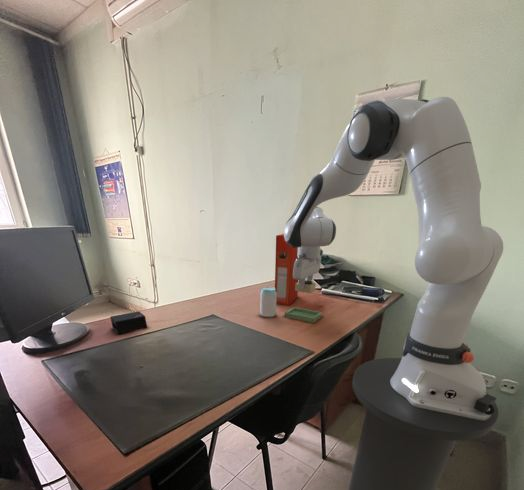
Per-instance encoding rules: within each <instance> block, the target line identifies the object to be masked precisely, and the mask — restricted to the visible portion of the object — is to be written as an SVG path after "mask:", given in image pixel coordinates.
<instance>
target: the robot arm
mask: <svg viewBox="0 0 524 490" xmlns="http://www.w3.org/2000/svg"><path fill="white" fill-rule="evenodd" d="M400 159H405V161H406V165H407V170H408V176H409V179H410V183H411V188H412V192H413V196H414V200H415V204H416V211H417V217H418V247H417V251H416V253H415V256H414V266H415V270H416V273H417V274H418V275H419V277H420V278H421V279H422V280H423V281H425V282H427V283H428V286H427V288H426V289H425V291H424V294H423V295H422V297H421V298H420V299H419V301H418V303H417V305H416V309H415V313H414V316H413V319H412V320H413V321H412V324H411V327H410V331H409V332H408V333H407V335H406V337H405V339H404V340H405V341H404V344H403V348H402V356H401V358H402V359H401V362H400V364H399V366H398V368H397V370H396V372H395V373H394V375H393V376H392V378H391V379H390V384H391V386H392V387H393V389H394V390H395V391H396V392H398V393H399V394H400V395H402V396H404V397H405V398H406V399H407V400H408V401H409V402H410V404H412V405H413V406H415V407H419V408H423V409H428V410H433V411H438V412H443V413H448V414H453V415H458V416H463V417H468V418H473V419H478V420H487V419H489V418H490V417H491V414H493V413H494V411H495V409H494V407H493V405H494V403H496V401H497V397H496V396H493V395H490V393H488V394H486V392H487V384H486V380H485V378H484V376H483V375H482V373H481V372H479V370H478V369H477V368H475V366H473V364H471V363H473V361H474V354H473V353H472V352H471V348H470V347H469V345H468V344H467V343H464V340H465V337H466V334H467V332H468V329H469V326H470V323H471V320H472V318H473V315H474V313H475V311H476V309H477V306H478V305H479V303H480V301H481V299H482V297H483V295H484V294H485V291H486V289H487V288H488V285H489V283H490V281H491V280H492V277H493V276H494V272H495V270H496V268H497V266H498V263H499V262H500V259H501V257H502V255H503V253H504V242H503V239H502V237H501V235H500V234H499V232H497V231H496V230H495V229H493V228H491V227H490V226H485V225H482V219H481V189H482V183H481V178H480V173H479V169H478V165H477V160H476V156H475V151H474V147H473V142H472V138H471V135H470V132H469V128H468V125H467V123H466V121H465V117H464V115H463V113H462V112H461V109H460V107H459V106H458V104H457V102H456V101H455V100H454V99H453V98H451V97H448V96H438V97H436V98H433V99H430V100H429V99H426V98H425V99H419V100H418V99H412V98H411V99H410V98H402V97H400V98H391V99H385V100H373V101H370V102H368V103H367V102H366V103H365V104H363V105H361V106H359V108H357V110H356V111H355V112H354V113H353V115H352V117H351V119H350V121H349V123H348V124H347V126H346V127H345V129H344V131H343V133H342V135H341V137H340V139H339V141H338V143H337V145H336V147H335V150H334V152H333V155H332V157H331V159H330V161H329V162H328V163H327V165H326V166H325V167H324V168H323V169H322V170H321V171H320V172H319V173H317V174H316V175H314V176H313V177H312V178H311V180H310V182H309V183H308V185H307V187H306V189H305V190H304V192H303V194H302V196H301V198H300V200H299V202H298V204H297V205H296V207H295V209H294V211H293V213H292V215H291V216H290V217H289V218H288V220H287V221H286V223H285V225H284V229H283V234H284V239H285V241H286V243H287V244H288V245H289V246H291V247H292V248H298V251H297V257H298V258H297V259H296V260H295V263H294V269H293V279H295V280H298V282H300V288H301V289H304V288H305V281H312V280H313V277H314V275H315V274H318V273H319V271H320V270H321V269H320V268H321V263H322V256H323V255H324V250H323V249H322V248H321V247H328V246H330V245H331V244H332V243H333V242H334V240H335V238H336V235H337V226H336V223H335V221H333V220H332V218H328V217H327V216H326V215H325V214H324V210H323V208H321V207H319V205H321V204H322V203H325V202H327V201H330V200H333V199H337V198H342V197H346V196H348V195H351V194H353V193H354V192H356V191H357V190H358V189H359V188H360V187H361V186H362V185H363V183H364V182H365V180H366V179H367V177H368V175H369V173H370V171H371V169H372V167H373V166H374V163H375V161H386V160H387V161H394V160H400ZM312 282H313V281H312Z"/></svg>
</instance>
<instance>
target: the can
mask: <svg viewBox="0 0 524 490" xmlns="http://www.w3.org/2000/svg"><path fill="white" fill-rule="evenodd" d="M259 297H260V298H259V306H260V307H259V309H260V310H259V315H260V316H261V317H263V318H273V317H275V316H276V315H277V304H276V299H277V292H276V291H275V287H271V286H265V287H262V288H261V290H260V294H259Z"/></svg>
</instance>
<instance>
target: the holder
mask: <svg viewBox="0 0 524 490" xmlns="http://www.w3.org/2000/svg"><path fill="white" fill-rule="evenodd" d="M322 316H323V312H322V311H317V310H312V309H307V308H303V307H295V306H293V307H292V308H290V309H289V310H287V311H285V312H284V318H288V319H293V320H297V321H301V322H302V321H303V322H307V323H311V324H314V323H316V322H317V321H318V320H319V319H321V318H322Z"/></svg>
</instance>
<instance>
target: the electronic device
mask: <svg viewBox="0 0 524 490" xmlns="http://www.w3.org/2000/svg"><path fill="white" fill-rule="evenodd" d="M110 322H111V326H112V329H113V330H114V331H115V333H116V334H117V335H120V334H121V335H122V334H125V333H130V332H134V331H138V330H144V329H148V325H147V324H148V323H147V318H146V315H144V314H143V313H142V312H141V311H139V310H138V311H134V312H133V311H132V312H128V313H122V314H117V315H111V316H110Z"/></svg>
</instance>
